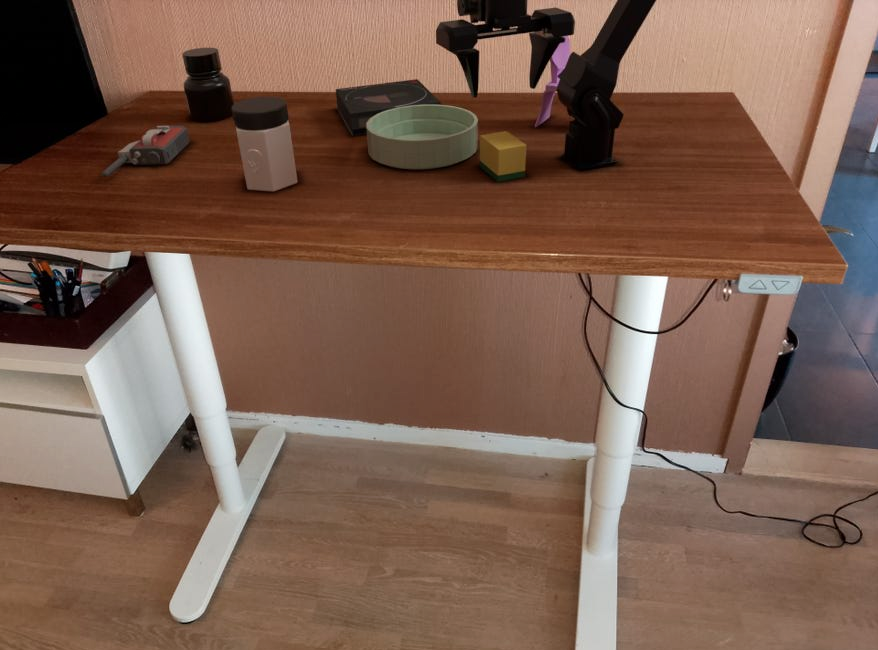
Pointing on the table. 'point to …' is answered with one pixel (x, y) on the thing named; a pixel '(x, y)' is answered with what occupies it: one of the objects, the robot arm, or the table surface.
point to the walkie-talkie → (152, 148)
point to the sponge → (502, 156)
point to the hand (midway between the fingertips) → (503, 92)
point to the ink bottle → (206, 85)
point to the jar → (265, 143)
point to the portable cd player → (379, 101)
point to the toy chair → (554, 79)
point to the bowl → (422, 136)
